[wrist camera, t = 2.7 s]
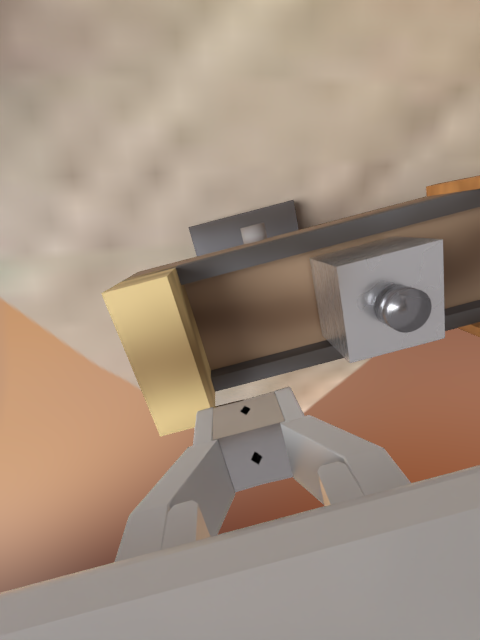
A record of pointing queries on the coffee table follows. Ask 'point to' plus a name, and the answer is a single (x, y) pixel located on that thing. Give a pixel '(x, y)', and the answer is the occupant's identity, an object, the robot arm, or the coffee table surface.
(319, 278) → the rider
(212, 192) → the coffee table surface
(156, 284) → the grey gold rectangular frame
